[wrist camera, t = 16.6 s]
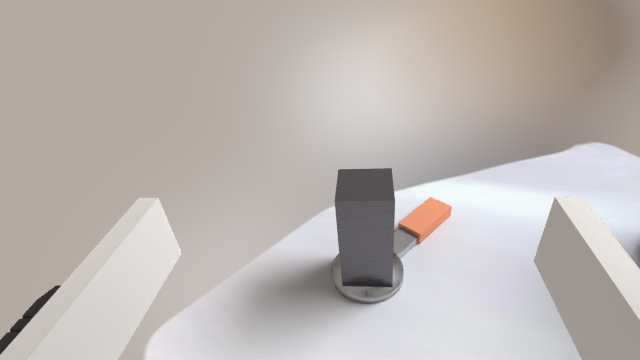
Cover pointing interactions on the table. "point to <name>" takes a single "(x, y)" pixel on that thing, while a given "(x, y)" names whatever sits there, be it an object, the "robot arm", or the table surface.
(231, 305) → the table surface
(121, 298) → the robot arm
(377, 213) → the dark grey block
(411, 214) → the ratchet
